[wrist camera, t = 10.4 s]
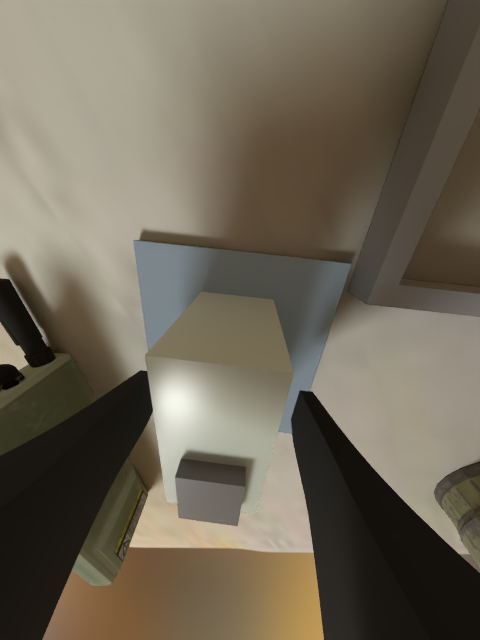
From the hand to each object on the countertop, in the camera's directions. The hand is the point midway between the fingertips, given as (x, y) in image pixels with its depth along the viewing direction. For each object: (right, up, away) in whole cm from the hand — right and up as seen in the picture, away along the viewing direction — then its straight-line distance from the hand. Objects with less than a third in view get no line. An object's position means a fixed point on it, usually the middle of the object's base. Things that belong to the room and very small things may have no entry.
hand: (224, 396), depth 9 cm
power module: (0, +2, +3) cm, 3 cm away
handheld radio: (-12, -5, +8) cm, 15 cm away
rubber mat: (0, +2, +3) cm, 4 cm away
